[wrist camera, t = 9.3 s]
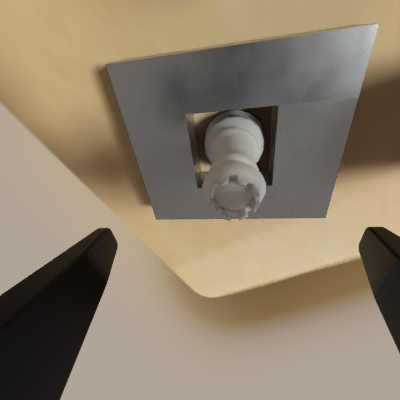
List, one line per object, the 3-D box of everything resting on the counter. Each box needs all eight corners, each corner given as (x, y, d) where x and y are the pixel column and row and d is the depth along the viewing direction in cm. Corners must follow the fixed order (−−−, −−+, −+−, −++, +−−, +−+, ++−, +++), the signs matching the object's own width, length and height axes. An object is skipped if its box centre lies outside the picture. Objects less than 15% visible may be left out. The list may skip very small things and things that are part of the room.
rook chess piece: (242, 172, 19) (246, 244, 12) (195, 148, 18) (174, 212, 12) (276, 126, 16) (303, 187, 10) (222, 96, 15) (214, 141, 9)
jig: (355, 24, 12) (379, 23, 10) (316, 198, 19) (325, 217, 17) (122, 59, 15) (105, 64, 13) (163, 202, 22) (156, 219, 20)
